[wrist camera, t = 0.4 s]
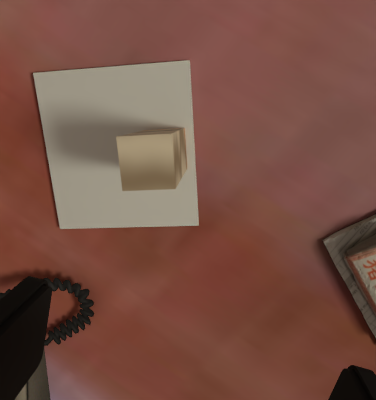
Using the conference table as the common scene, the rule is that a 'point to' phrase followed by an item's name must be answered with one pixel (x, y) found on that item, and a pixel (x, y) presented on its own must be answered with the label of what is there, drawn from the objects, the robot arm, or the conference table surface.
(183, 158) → the maple block
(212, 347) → the conference table surface
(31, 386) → the fax machine
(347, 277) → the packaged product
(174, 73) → the mat
